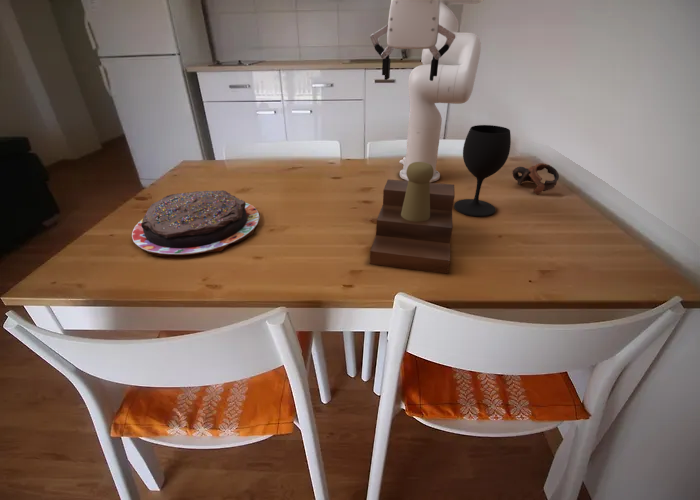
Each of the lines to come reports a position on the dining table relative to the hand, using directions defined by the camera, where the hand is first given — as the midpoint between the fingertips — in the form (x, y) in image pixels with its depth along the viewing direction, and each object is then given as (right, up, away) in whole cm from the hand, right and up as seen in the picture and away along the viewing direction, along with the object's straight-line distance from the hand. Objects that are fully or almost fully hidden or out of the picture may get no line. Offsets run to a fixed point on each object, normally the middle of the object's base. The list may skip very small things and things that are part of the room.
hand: (408, 79), depth 77 cm
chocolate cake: (-48, -32, +7) cm, 58 cm away
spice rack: (+1, -35, 0) cm, 35 cm away
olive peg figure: (+1, -30, -3) cm, 30 cm away
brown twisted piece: (+40, -19, +27) cm, 52 cm away
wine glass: (+19, -26, +15) cm, 36 cm away
